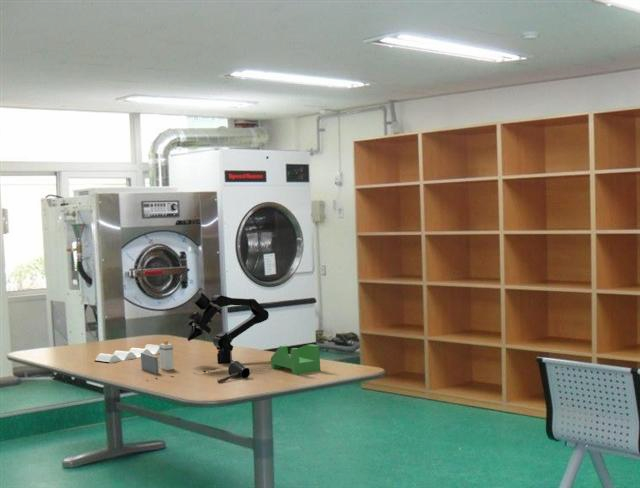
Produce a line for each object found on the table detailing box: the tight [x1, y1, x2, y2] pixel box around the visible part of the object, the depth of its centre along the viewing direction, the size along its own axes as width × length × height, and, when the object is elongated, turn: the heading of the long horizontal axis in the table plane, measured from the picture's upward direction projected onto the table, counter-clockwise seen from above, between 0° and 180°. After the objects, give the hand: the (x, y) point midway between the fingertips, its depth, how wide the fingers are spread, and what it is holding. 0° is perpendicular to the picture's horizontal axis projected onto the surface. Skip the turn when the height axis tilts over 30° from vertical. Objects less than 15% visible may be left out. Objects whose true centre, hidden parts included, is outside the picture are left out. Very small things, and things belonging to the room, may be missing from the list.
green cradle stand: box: [270, 343, 321, 376], centre depth 397 cm, size 24×13×12 cm, turn 30°
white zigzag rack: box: [94, 343, 160, 364], centre depth 464 cm, size 13×35×5 cm, turn 137°
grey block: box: [140, 353, 161, 375], centre depth 411 cm, size 14×20×9 cm
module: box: [158, 339, 175, 371], centre depth 413 cm, size 4×7×14 cm, turn 31°
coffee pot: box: [216, 360, 251, 384], centre depth 382 cm, size 8×18×8 cm
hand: (188, 340), depth 418 cm, fingers closed
